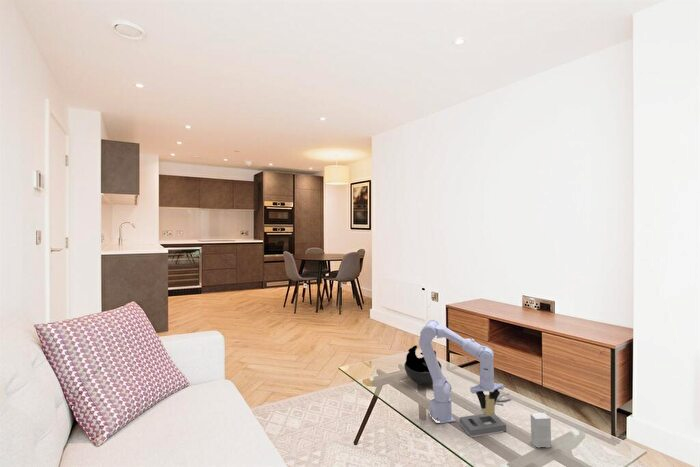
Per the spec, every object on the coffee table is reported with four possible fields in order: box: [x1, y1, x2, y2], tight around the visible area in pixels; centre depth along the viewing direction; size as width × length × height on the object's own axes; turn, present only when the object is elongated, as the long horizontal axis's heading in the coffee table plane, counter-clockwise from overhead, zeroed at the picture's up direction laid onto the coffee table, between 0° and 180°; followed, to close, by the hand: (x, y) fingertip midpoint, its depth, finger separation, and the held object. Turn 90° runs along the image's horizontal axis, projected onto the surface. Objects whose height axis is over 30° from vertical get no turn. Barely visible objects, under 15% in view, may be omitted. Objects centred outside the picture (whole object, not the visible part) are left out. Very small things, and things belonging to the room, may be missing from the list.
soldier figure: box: [495, 392, 512, 406], centre depth 180 cm, size 8×5×12 cm
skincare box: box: [530, 412, 552, 448], centre depth 146 cm, size 6×4×12 cm
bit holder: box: [459, 413, 507, 438], centre depth 159 cm, size 16×10×3 cm, turn 100°
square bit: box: [480, 394, 496, 416], centre depth 159 cm, size 4×4×7 cm
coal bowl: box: [403, 345, 442, 386], centre depth 203 cm, size 20×20×19 cm
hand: (487, 406), depth 159 cm, fingers closed on square bit, 4 cm apart
